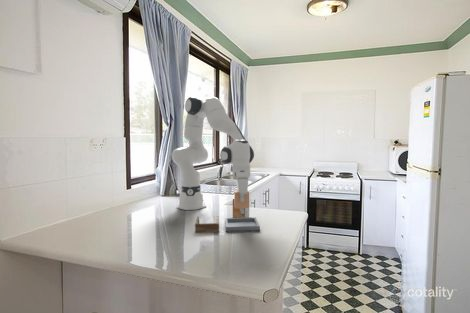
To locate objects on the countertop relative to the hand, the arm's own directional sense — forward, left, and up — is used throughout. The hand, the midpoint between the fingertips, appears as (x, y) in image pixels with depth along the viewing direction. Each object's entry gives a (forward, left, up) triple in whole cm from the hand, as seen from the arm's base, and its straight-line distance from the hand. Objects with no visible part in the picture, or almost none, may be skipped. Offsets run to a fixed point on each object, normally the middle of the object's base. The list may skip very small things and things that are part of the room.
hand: (241, 200), depth 144 cm
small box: (-18, +1, -14) cm, 23 cm away
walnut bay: (0, -17, -14) cm, 22 cm away
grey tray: (0, 0, -14) cm, 14 cm away
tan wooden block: (0, 0, -4) cm, 4 cm away
